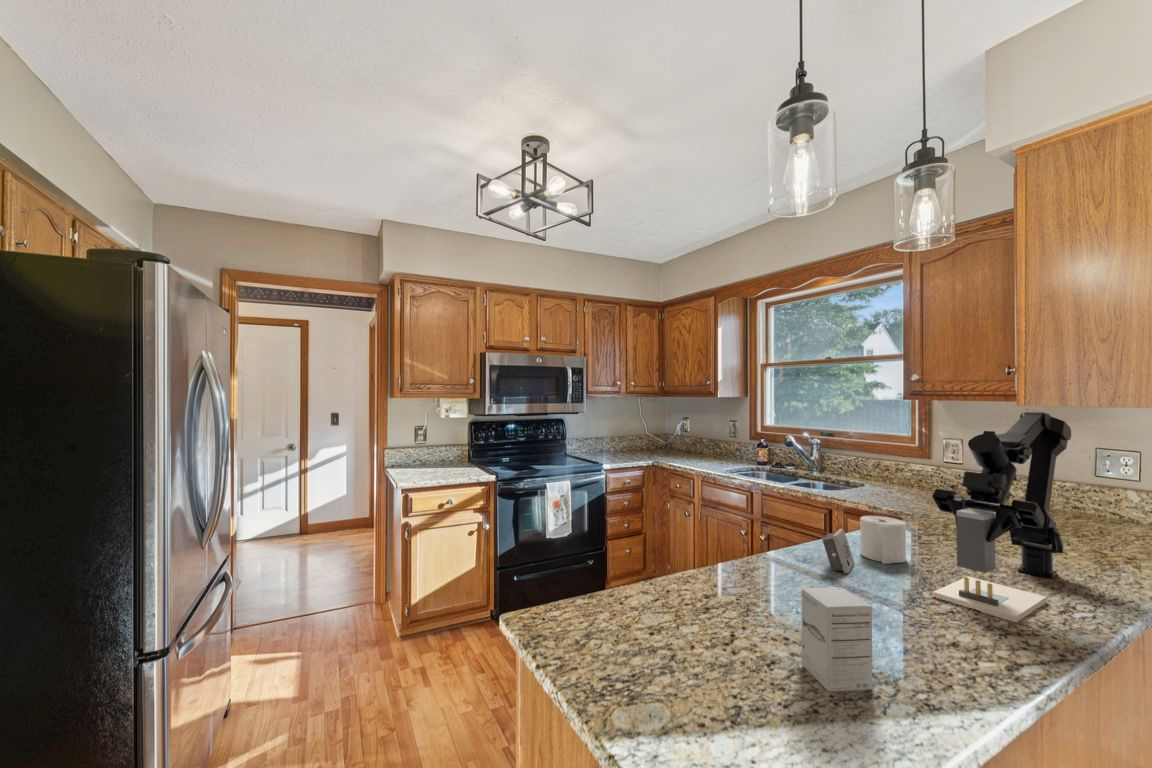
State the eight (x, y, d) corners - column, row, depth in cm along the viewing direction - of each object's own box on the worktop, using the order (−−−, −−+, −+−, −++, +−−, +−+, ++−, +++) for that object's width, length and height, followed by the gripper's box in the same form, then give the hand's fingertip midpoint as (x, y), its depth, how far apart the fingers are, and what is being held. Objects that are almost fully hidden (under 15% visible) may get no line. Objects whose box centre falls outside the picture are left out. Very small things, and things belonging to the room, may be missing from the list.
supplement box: (800, 665, 79) (799, 587, 80) (843, 663, 80) (842, 585, 80) (827, 693, 72) (826, 606, 72) (874, 691, 73) (873, 605, 73)
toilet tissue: (888, 550, 140) (888, 515, 140) (919, 565, 128) (919, 526, 128) (852, 550, 139) (851, 515, 140) (879, 565, 127) (879, 526, 128)
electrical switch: (848, 575, 120) (843, 536, 121) (825, 572, 123) (821, 534, 124) (855, 565, 128) (850, 528, 128) (833, 562, 131) (829, 527, 132)
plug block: (967, 562, 110) (967, 508, 110) (995, 569, 105) (994, 513, 106) (957, 565, 107) (956, 510, 107) (984, 573, 103) (984, 515, 103)
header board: (967, 581, 117) (967, 559, 117) (1046, 602, 105) (1046, 577, 105) (933, 597, 107) (932, 573, 107) (1016, 622, 95) (1015, 595, 95)
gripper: (935, 454, 117) (911, 505, 111) (1038, 463, 101) (1016, 524, 95) (951, 484, 121) (929, 535, 115) (1053, 498, 104) (1033, 558, 99)
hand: (972, 537), depth 106 cm, fingers closed on plug block, 5 cm apart
